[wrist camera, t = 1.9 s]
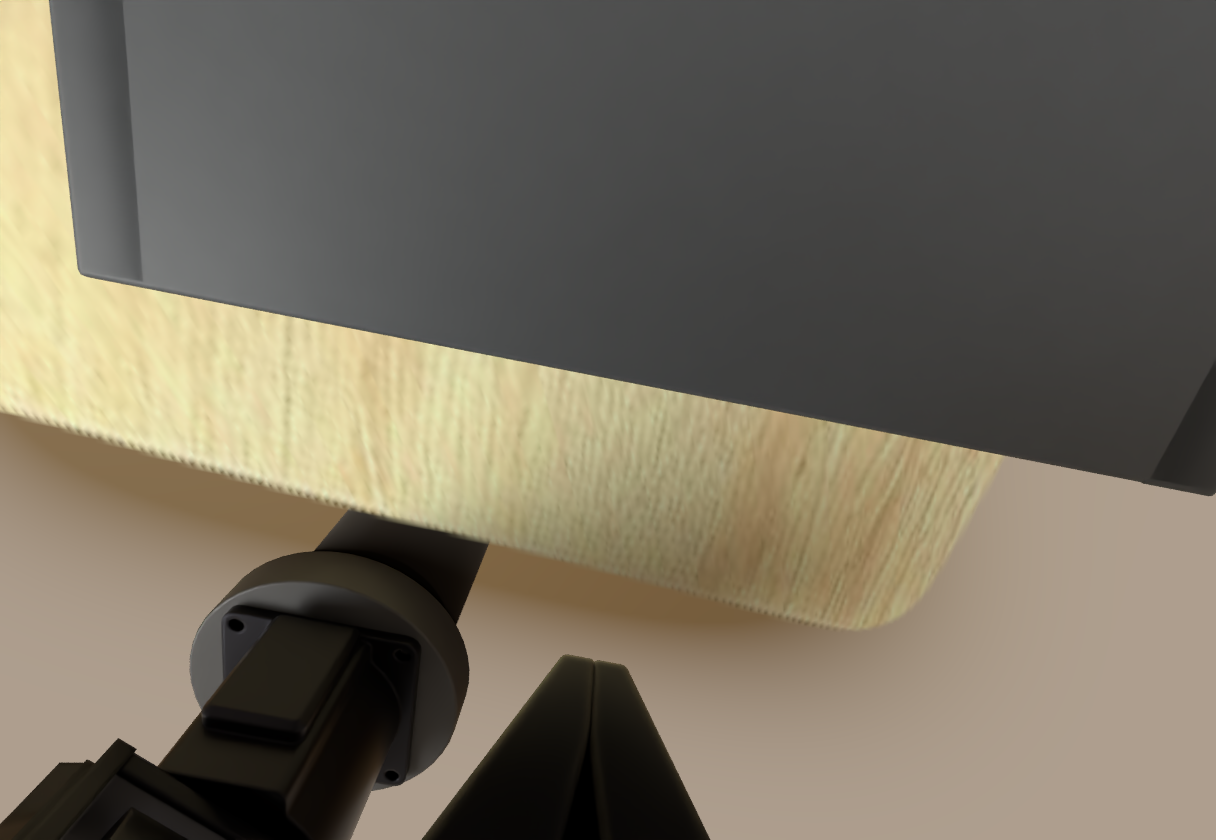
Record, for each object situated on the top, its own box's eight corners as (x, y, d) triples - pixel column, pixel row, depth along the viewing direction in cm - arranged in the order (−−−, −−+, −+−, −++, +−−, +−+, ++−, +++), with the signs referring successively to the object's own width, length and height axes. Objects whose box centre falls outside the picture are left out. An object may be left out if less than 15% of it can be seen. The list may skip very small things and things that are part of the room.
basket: (855, 281, 19) (1215, 499, 7) (439, 198, 19) (74, 277, 7) (961, -47, 16) (1891, -636, 4) (469, -150, 16) (-79, -1102, 4)
